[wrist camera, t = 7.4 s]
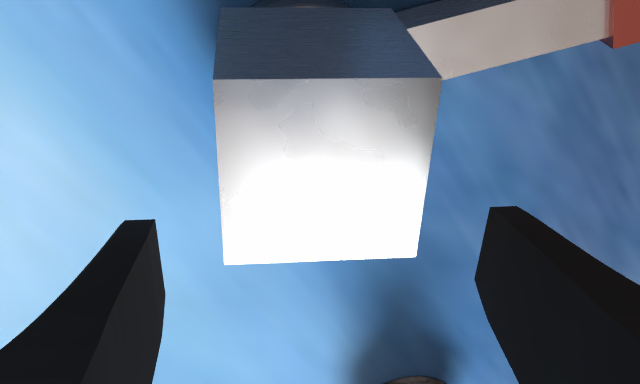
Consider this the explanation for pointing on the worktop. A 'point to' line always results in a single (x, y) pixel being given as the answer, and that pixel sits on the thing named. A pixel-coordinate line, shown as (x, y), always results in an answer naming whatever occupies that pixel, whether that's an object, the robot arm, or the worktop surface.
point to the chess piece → (416, 380)
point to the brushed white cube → (321, 133)
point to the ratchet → (503, 28)
